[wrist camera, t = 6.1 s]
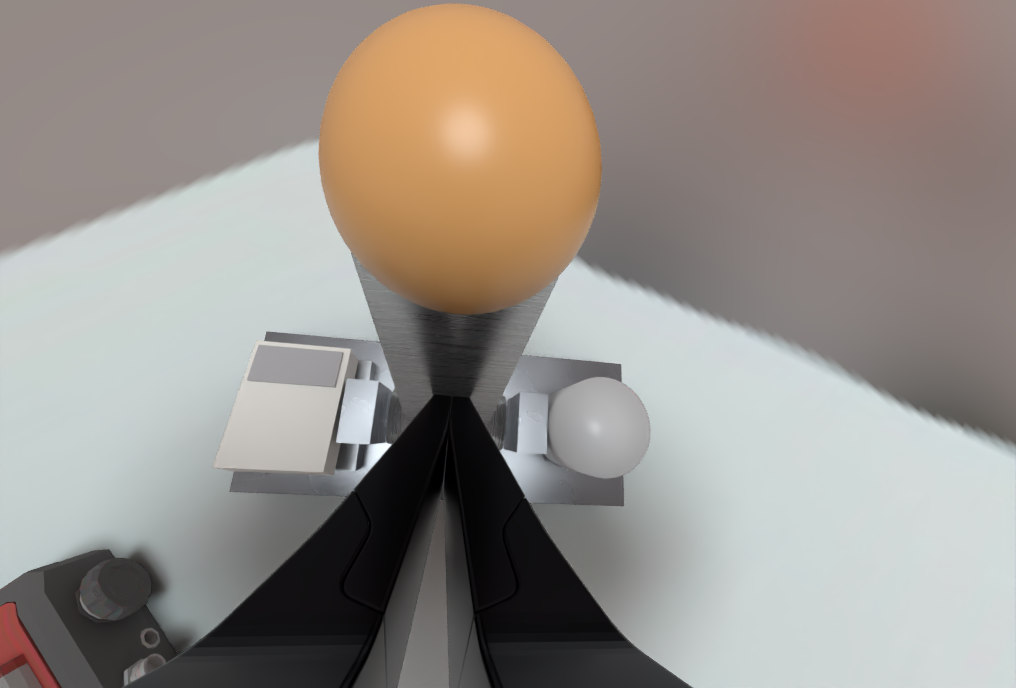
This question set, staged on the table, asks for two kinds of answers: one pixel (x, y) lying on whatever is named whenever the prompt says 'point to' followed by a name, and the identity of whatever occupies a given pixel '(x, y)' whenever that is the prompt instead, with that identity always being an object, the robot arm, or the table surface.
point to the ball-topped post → (458, 195)
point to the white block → (288, 410)
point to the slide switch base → (520, 450)
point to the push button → (597, 428)
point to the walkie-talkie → (79, 625)
